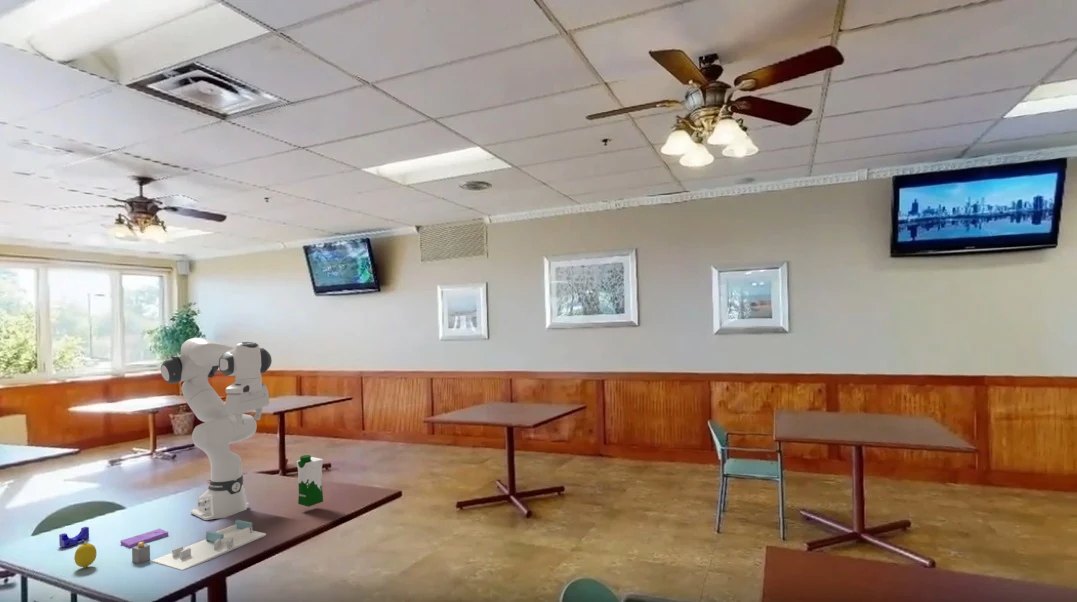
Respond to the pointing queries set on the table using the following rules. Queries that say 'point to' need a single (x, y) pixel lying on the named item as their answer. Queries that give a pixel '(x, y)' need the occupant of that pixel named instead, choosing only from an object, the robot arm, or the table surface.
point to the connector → (141, 553)
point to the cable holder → (67, 541)
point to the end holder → (230, 532)
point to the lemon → (85, 555)
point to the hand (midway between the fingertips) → (249, 422)
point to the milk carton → (310, 480)
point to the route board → (203, 551)
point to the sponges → (144, 538)
